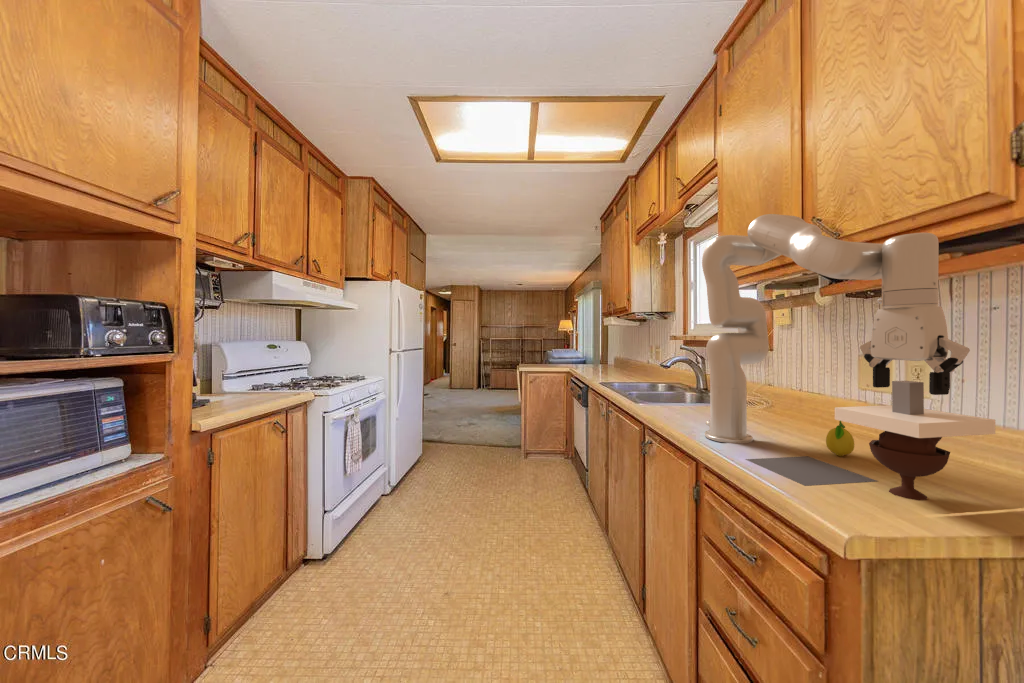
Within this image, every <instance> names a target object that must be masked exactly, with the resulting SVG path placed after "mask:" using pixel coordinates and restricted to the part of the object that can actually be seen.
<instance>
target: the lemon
mask: <svg viewBox="0 0 1024 683" xmlns="http://www.w3.org/2000/svg"><path fill="white" fill-rule="evenodd" d="M845 428H846V425H844V424H843V423H842V421H839V424H838V425H836V427H834V428H831V429H830V430H829V431H828V432H827V434H826V438H825V444H826V447H827V449H828V450H829V451H830V452H832V453H833V454H835V455H836V456H838V457H844V456H848V455H850V454H851V453H853V452H854V449H855V440H854V439H855V438H854V437H853V435H852V433H851V432H850V431H849V430H847V429H845Z"/></svg>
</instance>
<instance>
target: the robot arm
mask: <svg viewBox="0 0 1024 683" xmlns="http://www.w3.org/2000/svg"><path fill="white" fill-rule="evenodd" d="M939 248H940V247H939V239H938V236H937V235H936V234H934V233H932V232H914V233H907V234H900V235H896V236H892V237H890V238H888V239H886V240H885V241H884V242H883V243H876V242H875V243H874V242H873V243H872V242H862V241H861V242H860V241H848V240H840V239H837V238H834V237H829V236H827V235H823V233H822V230H821V228H820V227H819V226H818V225H816V224H812V223H809V222H806V221H805V220H804V219H803V218H802V217H799V216H795V215H787V214H779V213H778V214H776V213H769V214H763V215H759V216H758V217H756V218H754V219H753V220H752V221H751V222H750V224H749V225H748V228H747V235H737V234H734V235H733V234H726V235H719V236H716V237H715V238H713V239H712V240H710V241H709V243H708V244H707V245H706V246H705V248H704V251H703V254H702V257H701V264H702V266H701V267H702V272H703V276H704V279H705V284H706V296H707V310H708V317H709V321H710V323H711V325H712V326H713V327H714V328H717V329H737V332H721V333H718V334H715V335H713V336H711V337H710V338H709V339H708V341H707V342H706V345H705V346H706V347H705V351H706V356H707V361H708V367H709V385H710V386H709V390H710V391H709V393H710V395H709V402H710V403H709V404H710V406H709V407H710V409H709V413H710V419H709V420H706V422H705V424H706V426H708V427H709V428H708V430H706V431H705V432H704V437H705V438H707V439H709V440H712V441H715V442H720V443H725V444H728V443H729V444H748V443H752V442H754V441H753V440H754V439H753V438H754V437H753V435H750V434H749V433H747V432H748V431H747V430H748V429H747V428H748V427H747V426H748V425H747V424H748V423H747V421H748V420H747V418H748V417H747V414H748V413H747V409H748V408H747V407H748V406H747V404H748V403H747V402H748V401H747V400H748V398H747V397H748V395H747V393H748V392H747V387H748V386H747V377H746V374H745V371H744V370H743V368H742V366H741V365H754V364H755V365H756V364H759V363H762V362H763V361H764V360H765V359H766V358H767V356H768V354H769V347H770V346H769V344H770V343H769V334H768V333H769V331H768V323H767V315H766V314H767V313H766V310H765V307H764V306H763V304H762V303H761V302H760V301H759V300H758V299H756V298H753V297H746V296H744V297H743V296H741V295H740V294H741V292H740V289H739V288H740V287H739V281H738V278H737V276H736V274H735V273H734V271H733V270H732V269H731V266H741V267H742V266H749V267H756V266H760V265H763V264H766V263H768V262H770V261H772V260H774V259H776V258H778V257H780V256H784V257H786V258H789V259H791V260H792V261H793V262H794V263H795V264H796V265H797V266H799V267H801V268H803V269H805V270H808V271H811V272H813V273H816V274H819V275H822V276H824V277H827V278H830V279H835V280H836V279H837V280H857V281H875V280H876V281H877V280H881V296H880V297H878V298H877V301H876V302H877V304H879V305H881V309H879V308H878V309H877V310H876V313H875V316H874V319H873V324H872V329H871V340H869V341H868V342H866V343H865V342H864V343H863V344H861V345H860V347H859V349H860V351H861V352H862V354H863V358H864V359H865V360H866V362H868V365H869V367H870V368H872V386H873V388H889V387H891V368H890V367H887V366H888V365H889V364H890V363H891V362H892V361H908V362H909V361H910V362H911V361H912V362H914V361H915V362H921V361H922V362H923V361H924V362H925V363H926V364H927V365H928V366H929V367H930V368H931V369H932V370H933V371H930V373H929V374H928V375H929V378H928V379H929V380H928V382H929V383H928V384H929V386H928V388H929V389H928V390H929V391H928V392H929V394H930V395H936V396H941V395H942V396H943V395H944V396H945V395H949V393H950V390H951V389H950V388H951V373H953V372H955V370H956V368H958V367H960V366H961V365H962V364H963V363H964V360H965V359H966V357H967V356H968V355H969V353H970V351H971V350H970V348H969V347H968V346H965V345H963V344H961V343H958V342H956V341H953V340H952V339H949V334H948V326H947V320H946V316H945V312H944V310H943V307H942V306H940V305H939V252H940V251H939ZM949 351H950V352H951V354H950V357H948V353H949Z"/></svg>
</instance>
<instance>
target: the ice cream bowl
mask: <svg viewBox="0 0 1024 683" xmlns="http://www.w3.org/2000/svg"><path fill="white" fill-rule="evenodd" d="M942 439H943V437H932V438H916V437H911V436H907V435H902V434H898V433H893V432H889V431H884V430H883V432H881V433H879V436H878V439H872V440H871V441H870V442H869V443H868V444H869V449H870V452H871V454H872V455H873V457H874V458H875V459H876V460H877V461H878V462H879V463H880V464H881V465H882V466H884V467H886V468H887V469H889V470H891V471H893V472H895V473H897V474H899V476H900V478H901V484H900V485H899V486H895V487H891V488H889V490H888V492H889V493H890V494H892V495H894V496H897V497H901V498H904V499H908V500H914V501H927V500H928V496H927V495H926V494H924V493H923V492H921V491H919V490H917V489H916V488H915V479H916V478H918V477H927V476H931V475H934V474H937V473H938V472H940V471H942V470H944V468H945V467H946V465H947V464H948V462H949V459H950V454H951V451H950V450H949V451H948V450H946V449H943V448H940V447H938V446H937V444H938V443H939V442H940V441H941V440H942Z"/></svg>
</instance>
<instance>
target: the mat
mask: <svg viewBox="0 0 1024 683" xmlns="http://www.w3.org/2000/svg"><path fill="white" fill-rule="evenodd" d="M744 460H745V461H748V462H750V463H751V464H752V463H753V464H754V465H757V466H759V467H761V468H764V469H767V470H768V471H770V472H773V473H775V474H777V475H779V476H782V477H784V478H786V479H789V480H791V481H793V482H795V483H797V484H800V485H802V486H804V487H811V486H825V485H829V486H830V485H843V484H854V483H855V484H861V483H874V482H876V483H877V482H879V480H877V479H874V478H871V477H868V476H865V475H862V474H860V473H856V472H853V471H851V470H848V469H845V468H842V467H840V466H836V465H834V464H832V463H828V462H825V461H822V460H819V459H817V458H815V457H811V456H809V455H806V456H801V455H800V456H782V457H780V456H779V457H765V458H763V457H762V458H761V457H760V458H748V459H747V458H746V459H744Z"/></svg>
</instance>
